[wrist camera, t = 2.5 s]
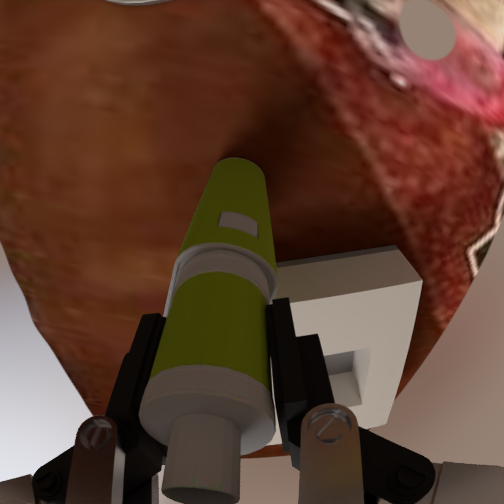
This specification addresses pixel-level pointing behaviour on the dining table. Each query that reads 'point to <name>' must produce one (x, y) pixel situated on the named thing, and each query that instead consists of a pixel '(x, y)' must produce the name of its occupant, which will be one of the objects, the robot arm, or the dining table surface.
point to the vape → (216, 342)
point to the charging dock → (355, 323)
